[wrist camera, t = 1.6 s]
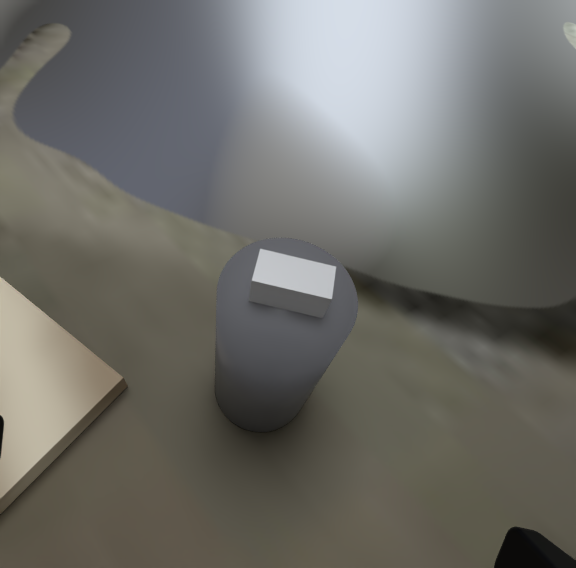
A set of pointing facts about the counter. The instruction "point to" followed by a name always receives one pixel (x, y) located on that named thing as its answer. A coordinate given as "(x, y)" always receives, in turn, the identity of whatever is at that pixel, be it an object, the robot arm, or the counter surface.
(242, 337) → the white-capped grey cylinder
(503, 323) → the counter surface
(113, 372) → the birch board
